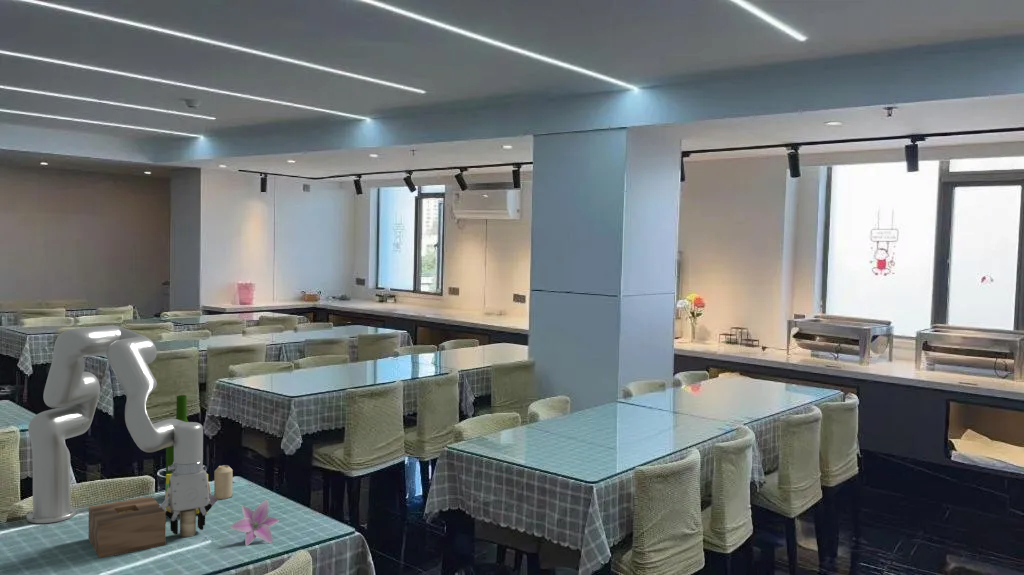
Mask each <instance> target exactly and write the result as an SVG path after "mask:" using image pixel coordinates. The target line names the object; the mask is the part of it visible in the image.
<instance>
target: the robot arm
mask: <svg viewBox="0 0 1024 575" xmlns="http://www.w3.org/2000/svg"><path fill="white" fill-rule="evenodd" d="M52 354H53V355H52V360H51V364H50V368H49V371H48V375H47V379H46V383H45V386H44V389H43V394H42V395H43V401H44V404H45V405H46V406H47V407H49V408H51V409H48V410H44V411H41V412H39V413H37V414H35V415H34V416H33V417H31V420H30V421H29V423H28V428H27V429H28V431H27V432H28V436H29V440H30V444H31V445H30V446H31V452H32V511H30V512H29V513H28V514H26V521H27V522H29V523H32V524H49V523H50V524H51V523H56V522H61V521H65V520H68V519H70V518H73V517H74V516H75V515H77V508H76V507H74V506H72V505H71V453H70V450H69V448H68V447H67V445H66V443H65V440H67V439H70V438H74V437H77V436H81V435H83V434H85V433H86V432H88V430H89V429H90V427H91V425H92V422H93V420H94V415H95V412H96V409H97V407H98V406H97V404H98V402H99V400H100V399H99V397H100V394H101V386H100V381H99V379H98V377H97V376H96V375H95V374H93V372H90V371H85V366H86V362H85V361H86V360H85V358H87V357H91V358H92V357H98V356H106V359H107V361H108V363H109V365H110V367H111V369H112V371H113V373H114V375H115V377H116V379H117V381H118V383H119V384H120V385H119V386H120V387H121V388H122V390H123V392H124V394H125V397H126V402H125V405H124V421H125V425H126V428H127V430H128V433H129V434H130V437H131V438H132V439H133V442H134V443H135V444H136V446H137V447H138V448H139V450H141V451H143V452H145V453H154V452H157V451H160V450H163V449H166V447H170V446H174V462H173V464H172V465H171V466H168V471H173V473H171V477H170V482H169V489H168V497H167V498H166V500H165V499H164V501H163V502H162V503H161V504H159V505H160V506H159V507H160V508H162V509H163V510H164V511H165V512H166V517H167V518H168V519H169V520H170V525H169V526H170V532H172V533H173V534H174V535H175V536H176V535H179V520H178V519H177V517H178V513H179V511H184V510H190V509H196V508H198V509H199V511H200V512H199V513H198V514H197V528H198V529H199V530H201V531H203V530H204V526H206V516H207V515H208V513H209V511H210V510H211V509H212V507H213V506H214V505H215V504H216V503H217V502H218V499H216V498H215V497H214V495H212V493H211V492H210V493H209V490H208V482H209V479H208V480H207V474H208V473H207V470H206V469H204V464H203V463H204V427H203V425H202V424H201V423H199V422H196V421H194V422H193V421H189V422H184V421H181V420H178V419H176V418H168V419H164V420H159V421H157V422H154V423H153V422H152V420H151V419H150V417H149V414H148V411H147V401H148V398H149V396H150V395H151V393H152V392H153V391H154V390H155V389H156V388H157V386H158V383H157V380H156V378H155V376H154V374H153V373H152V370H151V368H150V367H149V364H151V363H153V362H154V361H155V359H156V357H157V354H158V350H157V347H156V344H155V342H153V340H151V339H150V338H149V337H147V336H145V335H143V334H141V333H138V332H135V331H133V330H130V329H128V328H126V327H122V326H120V325H114V324H110V325H100V326H99V325H98V326H88V327H87V326H86V327H78V328H72V329H67V330H65V331H63V332H61V333H60V334H59V335H58V336H57V338H56V339H55V342H54V347H53V352H52ZM209 499H210V501H209ZM167 506H169V507H170V509H171V512H169V511H168V510H166V507H167ZM207 512H208V513H207Z"/></svg>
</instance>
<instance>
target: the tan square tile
mask: <svg viewBox="0 0 1024 575" xmlns="http://www.w3.org/2000/svg"><path fill="white" fill-rule="evenodd" d="M132 511H135V510H134V509H132V510H126V511H120V512H117V513H118V514H120V513H126V512H132Z"/></svg>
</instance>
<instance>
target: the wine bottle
mask: <svg viewBox="0 0 1024 575" xmlns="http://www.w3.org/2000/svg"><path fill="white" fill-rule="evenodd" d="M187 400H188V396H187V395H185V394H181V395H176V407H175V408H176V409H175V410H176V414H175V416H176V418H175V419H178V420H181V421H184V422H190V421H189V420H188V412H187V411H188V410H187V408H188V406H187V404H188V403H187ZM173 462H174V446H170V447H166V448H165V475H166V474H171V473H173V471H168V466H171V465H172V464H173Z"/></svg>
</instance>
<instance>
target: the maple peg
mask: <svg viewBox="0 0 1024 575" xmlns="http://www.w3.org/2000/svg"><path fill="white" fill-rule="evenodd" d="M196 515H197V514H196V509H190V510H184V511H180V515H179V536H180V537H183V538H188V537H194V536H195V535H196V530H197V529H196V522H197V521H196V517H197V516H196Z"/></svg>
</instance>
